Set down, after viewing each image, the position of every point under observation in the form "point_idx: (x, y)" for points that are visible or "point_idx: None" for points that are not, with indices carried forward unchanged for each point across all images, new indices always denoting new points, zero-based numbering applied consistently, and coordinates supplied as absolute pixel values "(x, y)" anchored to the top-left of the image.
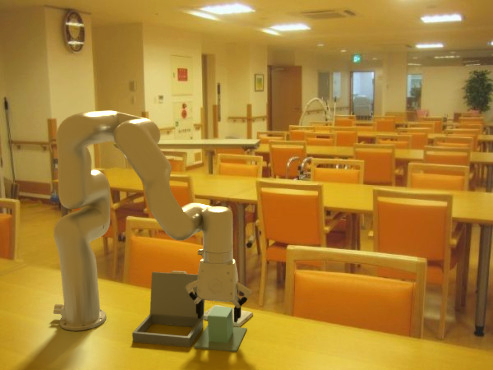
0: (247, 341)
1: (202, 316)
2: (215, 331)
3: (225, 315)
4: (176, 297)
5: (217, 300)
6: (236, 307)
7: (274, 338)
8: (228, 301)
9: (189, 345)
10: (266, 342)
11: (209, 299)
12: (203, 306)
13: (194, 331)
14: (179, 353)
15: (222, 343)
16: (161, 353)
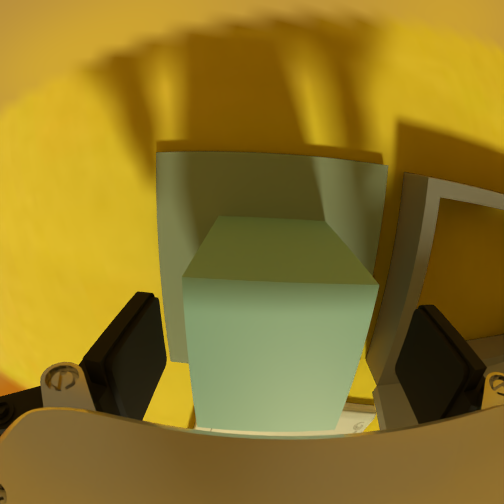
0: (136, 261)
1: (381, 391)
2: (291, 236)
3: (207, 315)
4: None
5: (293, 439)
6: (92, 376)
7: (56, 295)
8: (95, 412)
9: (409, 173)
10: (67, 262)
11: (434, 425)
12: (412, 403)
13: (412, 262)
14: (431, 114)
15: (245, 207)
16: (486, 121)
